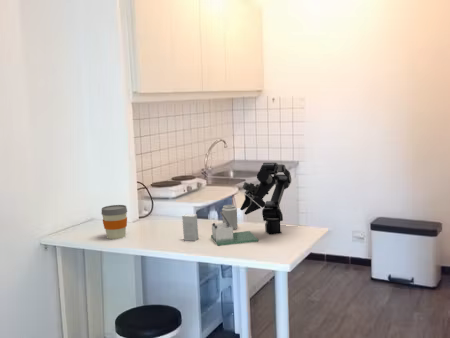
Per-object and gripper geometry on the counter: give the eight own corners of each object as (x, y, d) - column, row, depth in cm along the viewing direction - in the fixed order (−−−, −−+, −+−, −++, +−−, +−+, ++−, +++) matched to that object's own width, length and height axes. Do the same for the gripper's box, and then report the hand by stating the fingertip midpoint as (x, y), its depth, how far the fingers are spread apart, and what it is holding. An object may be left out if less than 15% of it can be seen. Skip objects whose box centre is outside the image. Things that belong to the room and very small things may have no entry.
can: (238, 226, 268) (237, 203, 266) (237, 230, 260) (236, 207, 259) (223, 227, 269) (222, 204, 267) (222, 230, 261) (221, 207, 260)
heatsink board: (249, 233, 254) (248, 217, 253) (258, 241, 239) (257, 224, 238) (211, 236, 251) (210, 220, 250) (217, 245, 235) (216, 228, 234)
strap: (227, 223, 245) (228, 222, 245) (228, 225, 241) (230, 224, 241) (219, 212, 243) (220, 211, 244) (221, 213, 240) (222, 212, 240)
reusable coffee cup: (98, 237, 260) (96, 208, 258) (119, 232, 269) (117, 203, 267) (113, 241, 251) (110, 211, 249) (134, 235, 261) (131, 206, 259)
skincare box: (198, 238, 249) (197, 214, 247) (195, 241, 245) (193, 216, 243) (187, 238, 251) (185, 213, 249) (183, 240, 247) (181, 215, 245)
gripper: (247, 173, 252) (226, 197, 252) (257, 178, 234) (234, 205, 233) (264, 187, 254) (243, 211, 254) (274, 194, 236) (252, 220, 236)
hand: (243, 212), depth 244 cm, fingers open, 9 cm apart
